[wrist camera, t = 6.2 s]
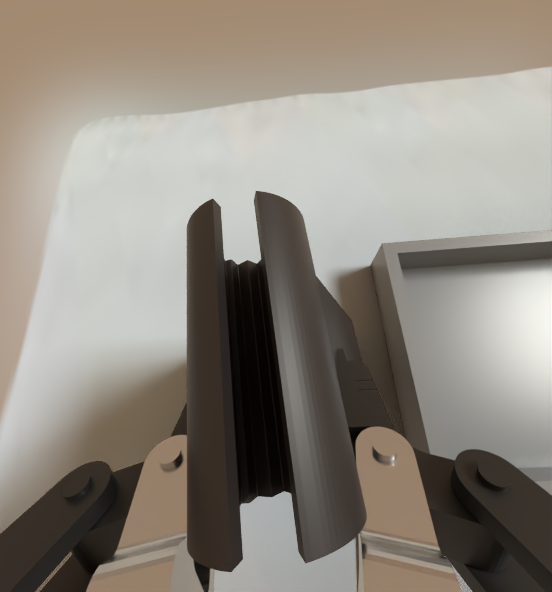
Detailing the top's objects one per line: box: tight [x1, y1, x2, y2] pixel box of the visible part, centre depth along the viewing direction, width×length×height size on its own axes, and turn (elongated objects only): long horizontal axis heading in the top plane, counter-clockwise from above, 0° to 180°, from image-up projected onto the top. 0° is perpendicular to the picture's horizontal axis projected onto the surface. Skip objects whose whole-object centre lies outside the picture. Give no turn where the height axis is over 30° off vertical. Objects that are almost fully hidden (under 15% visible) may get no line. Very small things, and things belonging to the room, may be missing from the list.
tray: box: [371, 230, 552, 495], centre depth 15 cm, size 16×14×3 cm
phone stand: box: [187, 191, 367, 572], centre depth 10 cm, size 9×6×12 cm, turn 97°
